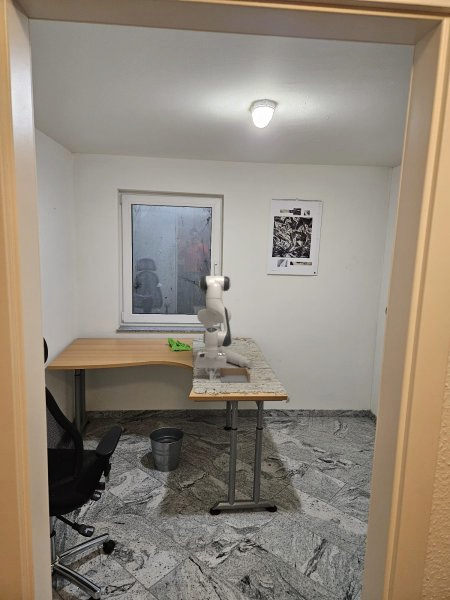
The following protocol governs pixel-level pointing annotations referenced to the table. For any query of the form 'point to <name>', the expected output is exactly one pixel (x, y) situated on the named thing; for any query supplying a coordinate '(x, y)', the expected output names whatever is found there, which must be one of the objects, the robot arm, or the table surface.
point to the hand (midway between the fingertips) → (210, 374)
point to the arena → (234, 375)
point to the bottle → (236, 358)
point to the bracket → (212, 377)
